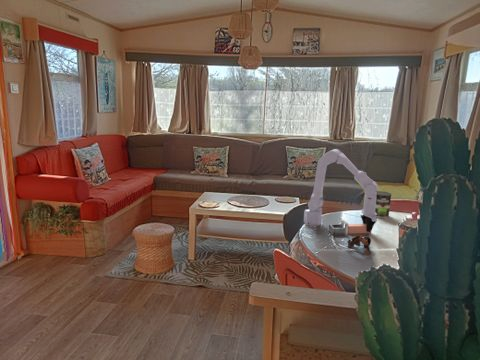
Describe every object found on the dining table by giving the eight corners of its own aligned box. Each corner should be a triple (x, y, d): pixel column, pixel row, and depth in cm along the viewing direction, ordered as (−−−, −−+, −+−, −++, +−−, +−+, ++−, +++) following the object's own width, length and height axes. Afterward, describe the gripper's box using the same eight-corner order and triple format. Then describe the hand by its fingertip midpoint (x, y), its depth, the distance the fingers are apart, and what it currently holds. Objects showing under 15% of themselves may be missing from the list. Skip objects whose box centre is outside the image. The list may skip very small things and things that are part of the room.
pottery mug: (364, 258, 158) (355, 242, 158) (349, 260, 166) (341, 244, 166) (379, 246, 164) (371, 230, 164) (364, 248, 172) (357, 232, 172)
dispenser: (333, 238, 180) (334, 224, 178) (327, 231, 190) (328, 218, 188) (370, 237, 181) (371, 224, 179) (362, 230, 191) (363, 218, 189)
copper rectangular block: (348, 233, 183) (348, 226, 182) (346, 231, 187) (346, 224, 186) (371, 233, 184) (371, 225, 183) (368, 230, 187) (368, 223, 186)
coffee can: (390, 218, 211) (393, 195, 208) (372, 217, 213) (375, 194, 210) (386, 213, 221) (389, 191, 218) (369, 212, 223) (371, 190, 220)
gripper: (383, 209, 176) (381, 235, 178) (371, 201, 190) (369, 225, 193) (369, 209, 175) (367, 235, 178) (358, 201, 189) (356, 225, 192)
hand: (367, 230), depth 185 cm, fingers closed on copper rectangular block, 3 cm apart
